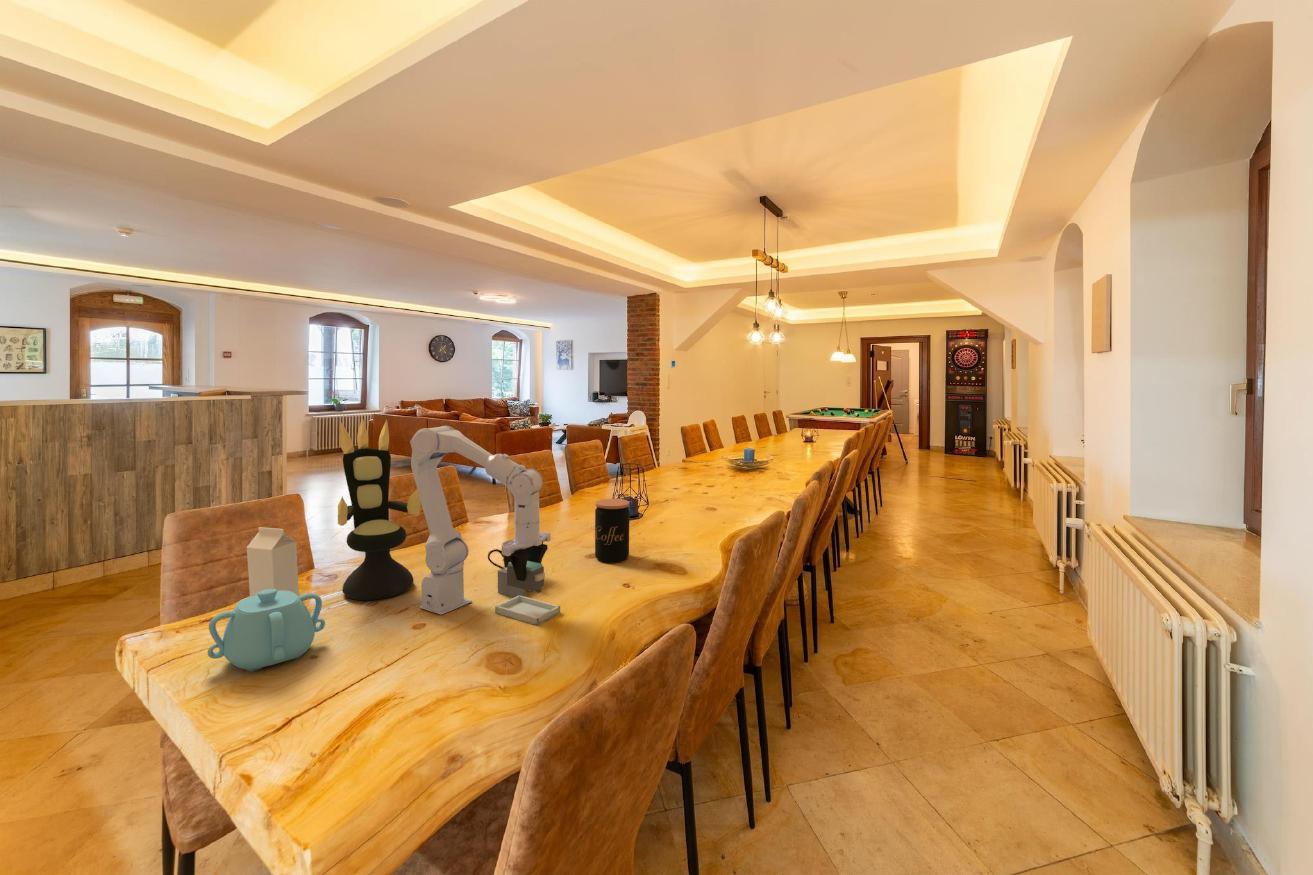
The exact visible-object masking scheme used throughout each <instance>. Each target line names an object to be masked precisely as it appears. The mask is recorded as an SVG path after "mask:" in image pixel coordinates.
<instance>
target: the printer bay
mask: <svg viewBox="0 0 1313 875" xmlns="http://www.w3.org/2000/svg"><path fill="white" fill-rule="evenodd" d="M526 592H527V590H524V589H520V588H516V587H512V586H508V585H507V567H506V568H505V567H504V568H503V569H501V568H500V569H499V570H497V593H498V594H501V595H503V596H507V597H509V598H514V597H516V596H519V595H521V596H524V597H527V596H526V595H527V593H526ZM534 592H537V593H540V592H541V593H542V592H543V587H541V588H539V589H537V590H535V591H534Z"/></svg>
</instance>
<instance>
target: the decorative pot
mask: <svg viewBox="0 0 1313 875" xmlns="http://www.w3.org/2000/svg"><path fill="white" fill-rule="evenodd" d="M308 599H314V600H315V606H314V610H313V613H312V615H311V613H310V611H309V609H308V608H307V606H306V605H305V603H304V602H303V601H305V600H308ZM322 604H323V601H322V598H321V596H319V595H318V594H317V593H313V592H305V593H302V594H299V597H298V596H297V595H296V594H295V593H293V592H291V591H284V590H283V591H277V590H276V589H266V590H262V591H260V592H258V593H256V594H255V595H254V596H251V597H250V596H249V597H244V598H243V599H241V600H239V601H238V602H237V603H236V605H235V606H234V608H233V610H227V611H226V610H225V611H222V612H219V613H218V614H216V615H215V616H214V617H213V618H212V619H211V620H210V621H209V623H208V630H209V633H210V635H211V637H212V639H213V641H214V643H215V644H212V645H210V647H209V648H208V650H207V656H208V658H210V659H220V658H222V657H224V658H225V659H226V660H227V661H228V662H229V663H231V664H232V665H233V666H235V667H237V668H238V669H240V670H241V669H242V670H246V671H247V670H248V671H247V672H255V671H254V670H256V671H259V670H261V669H262V668H265V667H269V666H270V667H271V666H273V665H277V664H280V663H284V662H287V661H292V660H296V659H299V658H301V656H302V655H304V654H305V653H306V652H307V651H308V649H309V648H310V647H311V645H312V643H313V641H314V639H315V634H316V633H318V632H321V631H322V630H323V629H324V628H325V626H326V622H325V621H326V620H325V619H324V618H321V617H319V616H320V614H321V611H322V606H323V605H322ZM226 618H229V619H228V620H227V624H226V626H225V629H224V632H223V638H221V635H220V634H219V633H218V631H217V627H216V625H217V623H218V622H219V621H221V620H222V619H226ZM317 623H319V624H318V625H317ZM215 649H219V651H218V652H215V651H214V650H215Z"/></svg>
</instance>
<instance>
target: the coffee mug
mask: <svg viewBox="0 0 1313 875" xmlns="http://www.w3.org/2000/svg"><path fill="white" fill-rule="evenodd" d="M514 539H515V538H513V539H508V540H505V541H503V542H502V543H501V547H502V546H505V545H507V544H508V543H510V542H511V541H513V540H514ZM523 551H524V553H527V550H526V549H523ZM494 552H498V553H499V554H500V555H501V557H502V558H503V565H504V566H501V565H499V564H498V563H495V562H494V561H493V560H491V558H490V556H491V554H492V553H494ZM487 559H488V561H489V563H490V564H492V565H493V566H495V567H497V568H499V569H500V570H501V569H503V568H506V567H507V566H508V563H509V562H510V560H509V558H508V557H507V556H505V555H502V549H501V550H500V549H497V548H494V549H491V550H490V551H489V552H488V553H487ZM528 561H529V559H528Z"/></svg>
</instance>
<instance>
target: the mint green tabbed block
mask: <svg viewBox="0 0 1313 875" xmlns="http://www.w3.org/2000/svg"><path fill="white" fill-rule="evenodd" d="M544 570H545V567H544V566H543V563H541V564H540V563H536V562H531V561H527V565H526V577H525V581H520V580H517V579H516V575H515V572H514V568H513V566H512V564H511V562H509V563H508V566H507V585H508V586H512V587H516V588H520V589H524V590H526V591H527V592H528V591H529V592H536V591H535V590H537V589H539V588H541V587H542V588H544V587H545V579H546V572H545V571H544Z"/></svg>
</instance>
